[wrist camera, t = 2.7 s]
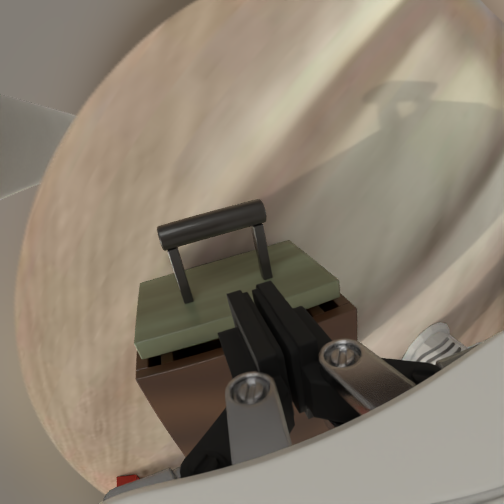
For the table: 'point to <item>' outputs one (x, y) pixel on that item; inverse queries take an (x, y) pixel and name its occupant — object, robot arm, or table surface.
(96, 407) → the table surface
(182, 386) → the cabinet
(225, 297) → the drawer
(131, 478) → the red rectangular block
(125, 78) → the table surface
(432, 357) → the french press
